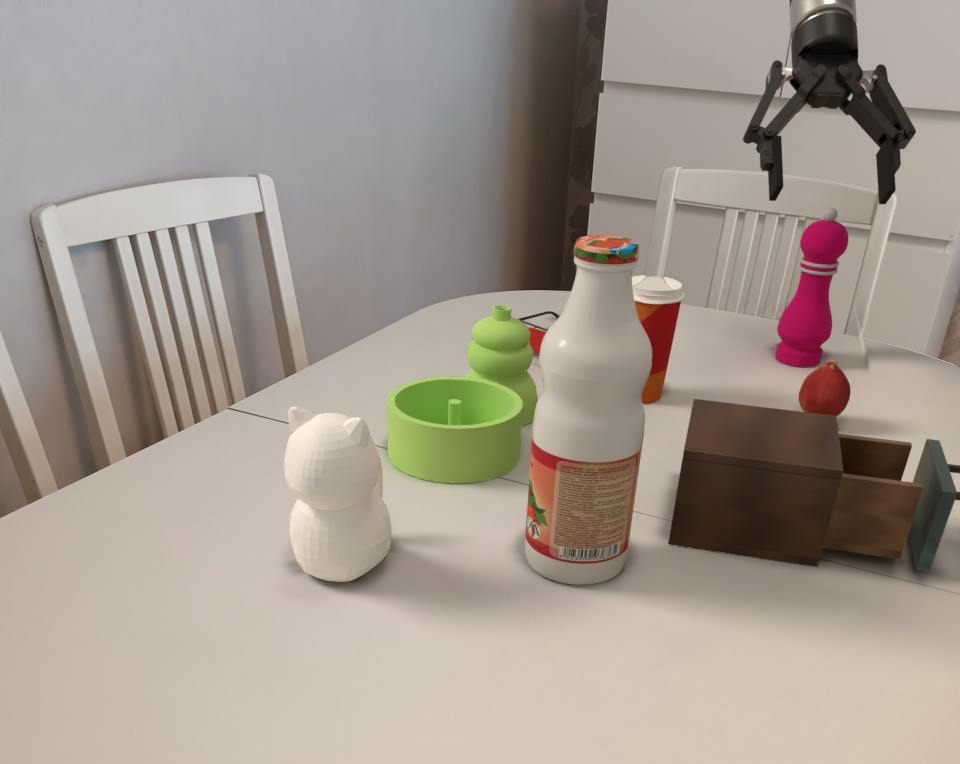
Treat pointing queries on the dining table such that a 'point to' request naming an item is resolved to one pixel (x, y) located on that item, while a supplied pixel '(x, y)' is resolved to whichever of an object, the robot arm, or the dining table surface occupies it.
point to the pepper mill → (812, 294)
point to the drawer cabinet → (757, 482)
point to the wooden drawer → (891, 500)
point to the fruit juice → (589, 421)
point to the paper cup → (657, 325)
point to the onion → (825, 391)
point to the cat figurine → (335, 496)
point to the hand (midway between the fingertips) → (831, 195)
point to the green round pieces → (467, 409)
